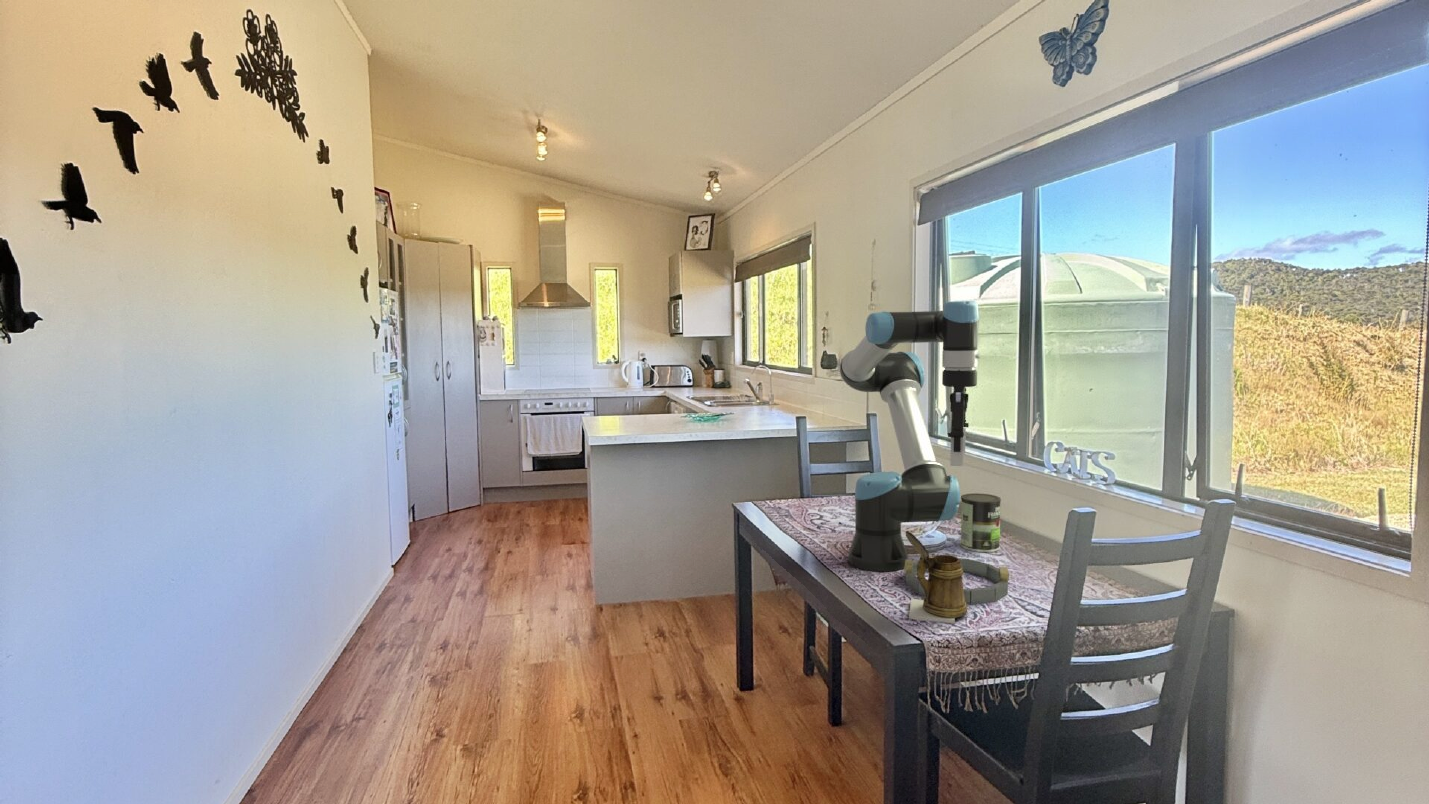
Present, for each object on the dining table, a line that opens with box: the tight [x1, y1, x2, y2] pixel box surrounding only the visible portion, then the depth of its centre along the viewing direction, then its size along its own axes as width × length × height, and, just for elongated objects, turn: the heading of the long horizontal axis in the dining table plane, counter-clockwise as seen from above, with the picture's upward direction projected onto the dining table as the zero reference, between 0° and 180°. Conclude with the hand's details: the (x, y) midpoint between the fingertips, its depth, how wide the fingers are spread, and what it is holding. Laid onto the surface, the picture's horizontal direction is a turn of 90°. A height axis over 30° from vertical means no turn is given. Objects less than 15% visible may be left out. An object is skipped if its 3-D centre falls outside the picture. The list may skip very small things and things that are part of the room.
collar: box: [904, 557, 1010, 605], centre depth 160 cm, size 23×22×5 cm
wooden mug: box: [905, 530, 969, 619], centre depth 143 cm, size 9×14×18 cm, turn 101°
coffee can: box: [960, 492, 1002, 553], centre depth 188 cm, size 10×10×14 cm
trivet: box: [908, 598, 956, 624], centre depth 145 cm, size 9×9×1 cm
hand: (958, 460), depth 158 cm, fingers open, 13 cm apart
